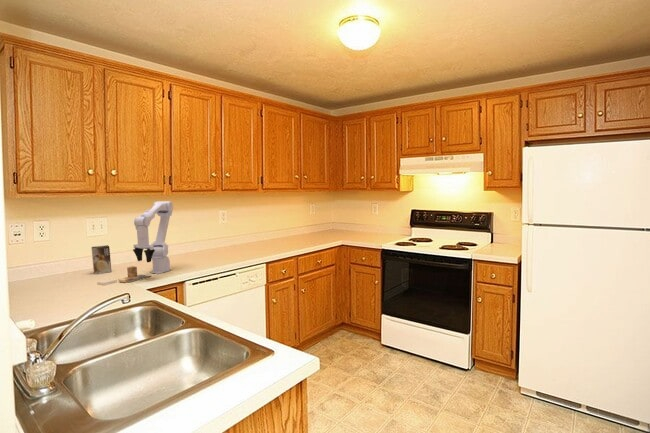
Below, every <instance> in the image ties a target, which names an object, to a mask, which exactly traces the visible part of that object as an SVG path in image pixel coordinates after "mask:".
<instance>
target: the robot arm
mask: <svg viewBox="0 0 650 433" xmlns="http://www.w3.org/2000/svg"><path fill="white" fill-rule="evenodd" d="M173 210H174V206H173V202H172V201H171V200H167V201H161V200H160V201H157V200H156V201H154V202H153V205H152V207H151V209H146V210H145V211H144V212H143V213H142V214H141V215H140V216H137V217H134V220H133V225H134V226H135V230H136V237H137V244H133V249H132V252H133V253H134V254H135V256H136V259H137V262H142V261H143V252H144V254H145V259H146V263H151V262H152V271H149V273H152V274H156V275H157V274H158V275H159V274H163V273H166V272H170V271H171V263H170V258H169V256H168V254H169V245H168V244H167V243H166V242H165V241H166V237H167V231H168V226H169V224H170V223H169V222H170V217H171V216H172V215H173ZM156 216H158V217H160V219H159V224H158V228H157V232H156V237H155V241H154V242H152V243H151V244H150V238H149V227H150V224H151V221H152V220H153V219H154V218H155V217H156Z"/></svg>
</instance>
